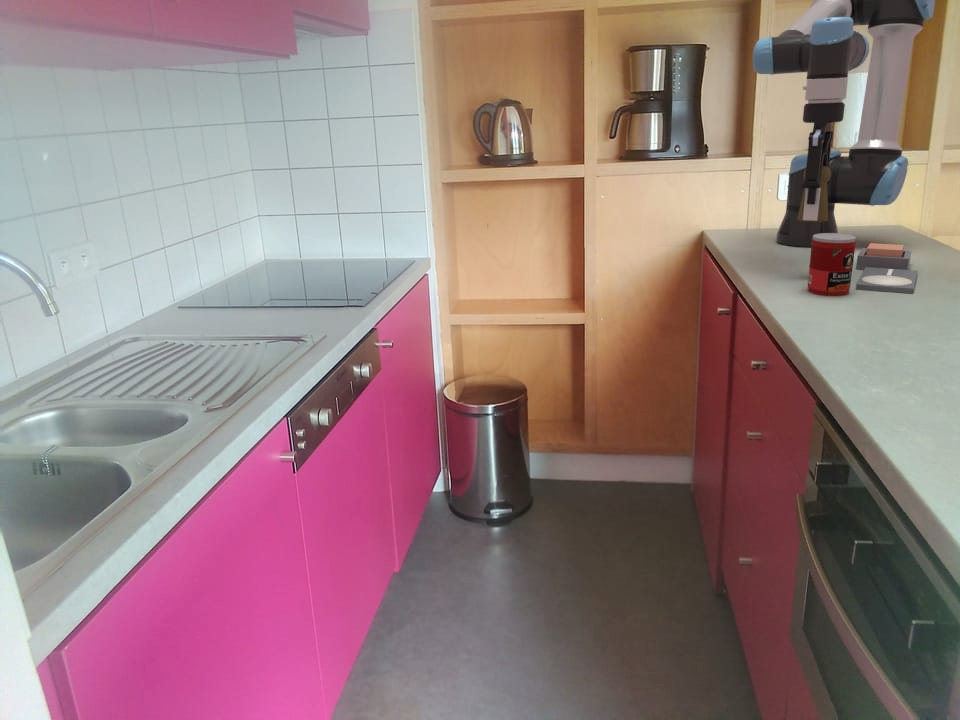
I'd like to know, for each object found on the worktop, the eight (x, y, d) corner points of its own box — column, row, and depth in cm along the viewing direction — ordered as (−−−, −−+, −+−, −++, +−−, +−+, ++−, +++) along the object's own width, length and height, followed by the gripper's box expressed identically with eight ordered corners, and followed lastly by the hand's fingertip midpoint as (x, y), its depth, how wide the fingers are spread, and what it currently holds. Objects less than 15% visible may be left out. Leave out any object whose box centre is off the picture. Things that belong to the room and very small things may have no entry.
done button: (868, 256, 175) (870, 243, 174) (902, 258, 172) (903, 244, 171) (865, 261, 170) (867, 248, 169) (900, 263, 166) (901, 250, 165)
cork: (830, 221, 157) (836, 166, 153) (799, 221, 158) (804, 167, 155) (825, 217, 163) (830, 164, 159) (794, 217, 164) (799, 164, 160)
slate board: (865, 271, 167) (865, 266, 167) (917, 275, 162) (917, 270, 162) (855, 289, 152) (856, 283, 152) (912, 293, 148) (913, 288, 147)
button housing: (860, 260, 178) (862, 248, 177) (909, 263, 173) (911, 250, 172) (855, 269, 170) (857, 255, 169) (907, 272, 165) (908, 258, 164)
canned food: (831, 298, 147) (838, 241, 143) (798, 290, 153) (803, 235, 150) (858, 292, 150) (865, 236, 147) (824, 285, 157) (830, 231, 153)
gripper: (813, 101, 162) (802, 210, 170) (795, 103, 147) (784, 223, 155) (851, 100, 159) (839, 212, 166) (837, 102, 143) (824, 225, 151)
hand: (812, 217), depth 160 cm, fingers closed on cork, 6 cm apart
